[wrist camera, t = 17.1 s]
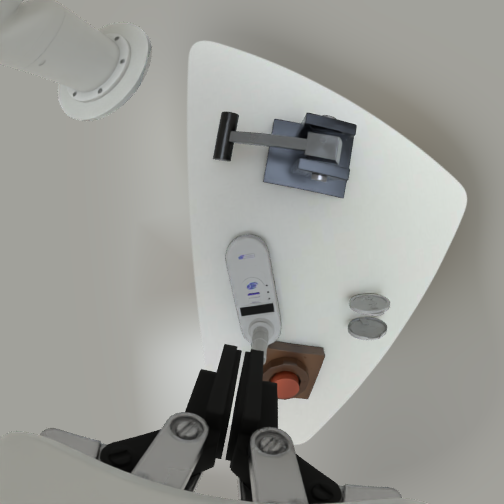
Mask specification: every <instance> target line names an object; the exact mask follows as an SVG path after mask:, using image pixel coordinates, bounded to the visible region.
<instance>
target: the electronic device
mask: <svg viewBox="0 0 504 504" xmlns="http://www.w3.org/2000/svg"><path fill="white" fill-rule="evenodd" d="M225 260H226V265H227V269H228V274H229V278H230V283H231V287H232V292H233V296H234V301H235V305H236V310H237V314H238V318H239V323H240V327H241V331H242V334H243V336H244V338H245V339H246V340H247V341H248V342H250V343H251V347H252V348H251V349H254V350H260V351H264V361H263V365H264V364H265V363H266V354H267V348H268V345H269V344H271V343H274V342H275V341H276V340H277V339H278V338H279V336H280V334H281V318H280V312H279V306H278V300H277V295H276V289H275V283H274V278H273V272H272V266H271V261H270V255H269V250H268V247H267V245H266V244H265V242H264V241H263V240H262V239H261V238H259V237H257V236H255V235H243V236H240V237H237V238H236V239H234V240H233V241H232V242H231V244H230V245H229V247H228V248H227V250H226V255H225Z"/></svg>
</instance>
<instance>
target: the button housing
mask: <svg viewBox="0 0 504 504" xmlns="http://www.w3.org/2000/svg"><path fill="white" fill-rule="evenodd" d="M324 358H325V354H324V350H323V348H321V347H313V346H305V345H298V344H291V343H284V342H277V341H275V342H274V343H271V344H269V345H268V348H267V354H266V363H265V364H264V365H263V381H268V382H271V378H272V377H273V376H274V375H275V374H276V373H278V372H281V371H289V372H292V373H294V374H296V375H297V377H298V380H299V391H298V393H297V394H296V395H295V396H293V397H291V398H302V399H308V398H309V396H310V393H311V391H312V388H313V386H314V383H315V381H316V378H317V376H318V373H319V371H320V368H321V366H322V363H323V360H324ZM278 399H282V398H278ZM286 399H290V398H286ZM286 399H284V400H286Z"/></svg>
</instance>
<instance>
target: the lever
mask: <svg viewBox="0 0 504 504" xmlns="http://www.w3.org/2000/svg"><path fill="white" fill-rule="evenodd" d="M238 118H239V115H238V114H236V113H232V112H222V114H221V119H220V124H219V129H218V134H217V140H216V145H215V151H214V156H213V159H215V160H221V161H231V156H232V150H233V145H234V143H239V144H249V145H259V146H267V147H275V148H283V149H290V150H297V151H303V152H305V154H304V155H305V156H306V157H308V158H309V159H311V160H316V161H322V162H327V163H332V164H337V165H338V164H339V160H340V154H341V148H342V141H341V139H340V137H339V136H334V135H328V134H322V133H315V132H308V136H307V139H304V138H297V137H289V136H281V135H272V134H262V133H251V132H237V131H236V129H237V123H238Z"/></svg>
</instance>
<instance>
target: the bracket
mask: <svg viewBox="0 0 504 504" xmlns="http://www.w3.org/2000/svg"><path fill="white" fill-rule="evenodd" d="M308 132H315V133H322V134H328V135H334V136H339V137H340V139H341V141H342V148H341V154H340V160H339V164H338V165H337V164H332V163H327V162H322V161H316V160H311V159H309V158H308V157H306V156H305V155H304V154H305V152H303V151H297V150H290V149H283V148H275V147H269V152H268V158H267V163H266V169H265V175H264V180H263V182H267V183H272V184H277V185H283V186H288V187H293V188H298V189H303V190H308V191H313V192H317V193H322V194H326V195H331V196H335V197H340V198H344V193H345V187H346V182H347V180H348V178H349V172H350V169H349V165H350V159H351V152H352V146H353V139H354V136H355V134H356V125H355V124H351V123H348V122H344V121H340V120H336V118H334V117H332V116H328V115H323V116H320V115H316V114H311V113H307V114H306V116H305V117H304V119H303V121H302V123H301V124H300V123H295V122H290V121H284V120H279V119H274V124H273V129H272V135H281V136H289V137H297V138H304V139H307V136H308Z"/></svg>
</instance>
